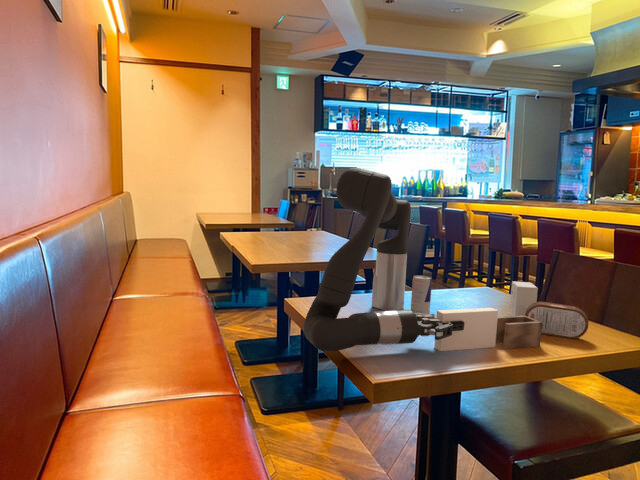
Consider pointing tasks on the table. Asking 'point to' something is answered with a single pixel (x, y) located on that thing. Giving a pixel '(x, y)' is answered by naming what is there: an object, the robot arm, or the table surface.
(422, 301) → the energy drink
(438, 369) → the table surface
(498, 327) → the slot box
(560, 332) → the tin
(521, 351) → the table surface
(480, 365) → the table surface
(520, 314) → the small box
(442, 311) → the white rectangular block
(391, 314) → the robot arm
